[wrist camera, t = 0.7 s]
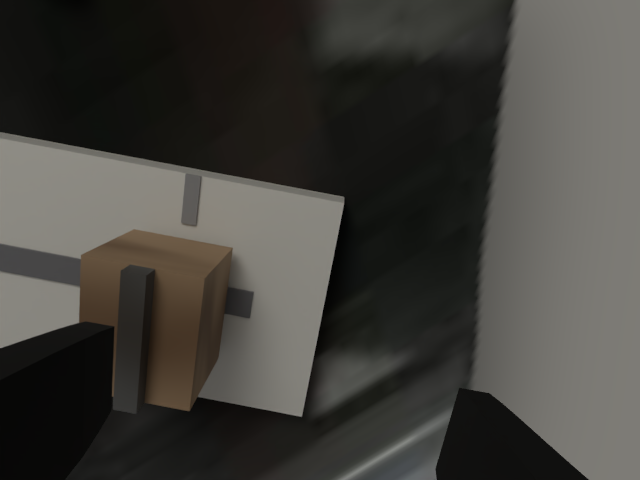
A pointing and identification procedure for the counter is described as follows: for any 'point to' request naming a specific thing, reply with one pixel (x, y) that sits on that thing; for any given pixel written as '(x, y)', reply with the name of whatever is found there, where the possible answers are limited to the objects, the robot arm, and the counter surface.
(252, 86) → the counter surface
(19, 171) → the fader console
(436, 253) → the counter surface
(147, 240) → the slider cap
